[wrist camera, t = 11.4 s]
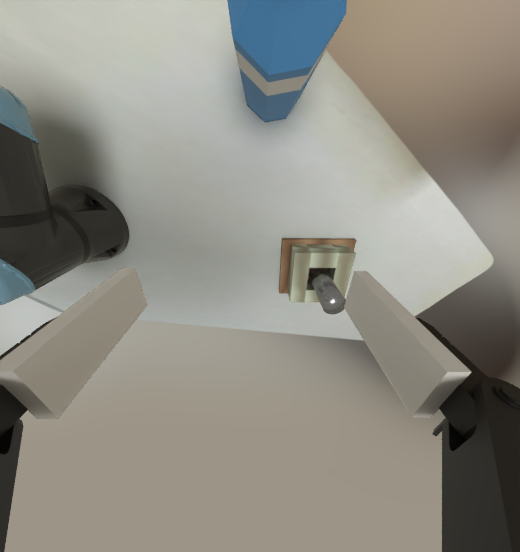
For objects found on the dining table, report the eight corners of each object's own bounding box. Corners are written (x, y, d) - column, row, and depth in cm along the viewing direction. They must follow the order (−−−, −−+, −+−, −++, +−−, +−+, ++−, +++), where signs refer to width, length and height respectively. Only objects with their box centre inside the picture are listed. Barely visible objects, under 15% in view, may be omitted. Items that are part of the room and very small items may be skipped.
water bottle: (311, 100, 32) (421, -47, 10) (261, 135, 34) (263, 79, 12) (285, 26, 28) (374, -484, 6) (231, 72, 30) (155, -175, 8)
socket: (279, 291, 50) (281, 305, 45) (282, 238, 43) (285, 248, 38) (341, 291, 50) (350, 305, 45) (354, 238, 43) (367, 248, 38)
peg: (305, 276, 47) (321, 314, 34) (306, 260, 45) (324, 295, 32) (321, 276, 47) (343, 314, 34) (324, 260, 45) (348, 295, 32)
